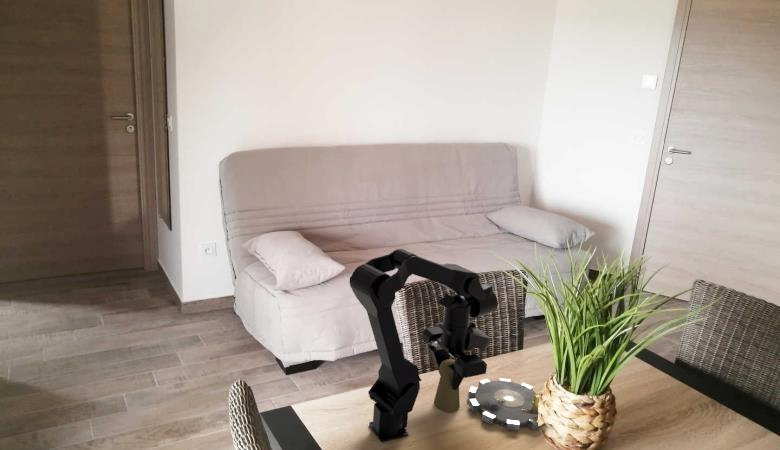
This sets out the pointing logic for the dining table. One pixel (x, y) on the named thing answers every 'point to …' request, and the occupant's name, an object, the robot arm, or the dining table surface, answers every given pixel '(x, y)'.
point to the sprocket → (505, 403)
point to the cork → (446, 390)
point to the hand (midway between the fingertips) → (449, 383)
